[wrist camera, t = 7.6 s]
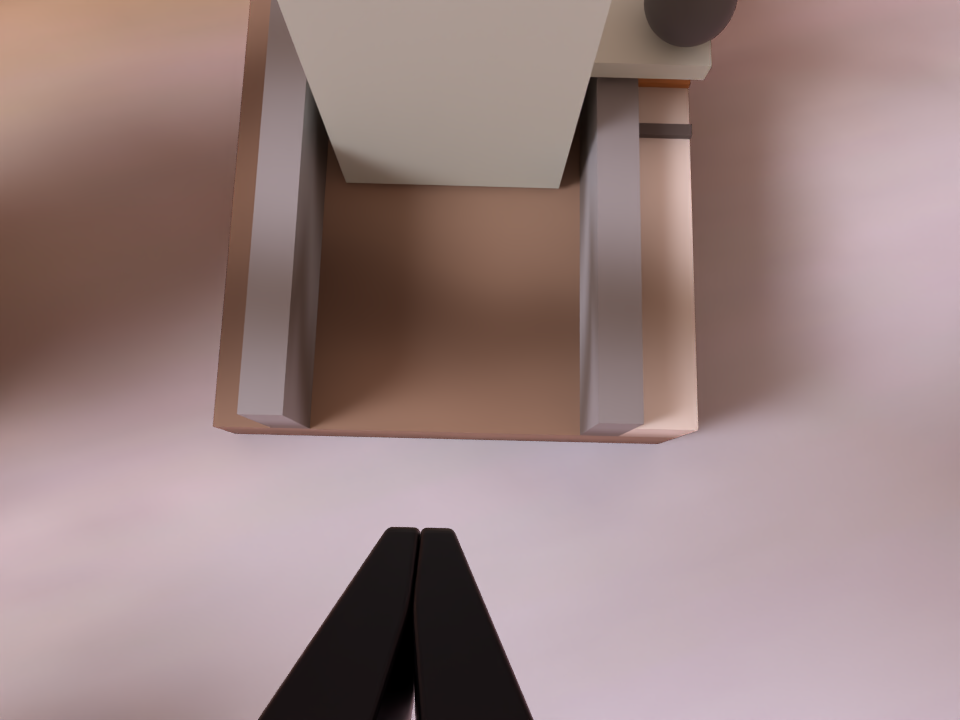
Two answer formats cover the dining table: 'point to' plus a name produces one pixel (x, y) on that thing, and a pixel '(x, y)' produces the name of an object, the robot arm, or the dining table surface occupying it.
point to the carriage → (481, 78)
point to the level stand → (458, 279)
